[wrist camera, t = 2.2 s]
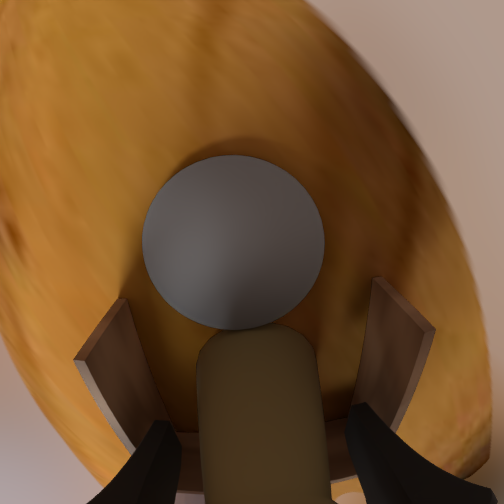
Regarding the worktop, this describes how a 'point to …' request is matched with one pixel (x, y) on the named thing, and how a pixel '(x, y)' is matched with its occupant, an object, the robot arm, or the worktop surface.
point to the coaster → (233, 242)
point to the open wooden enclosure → (190, 480)
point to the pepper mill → (261, 419)
